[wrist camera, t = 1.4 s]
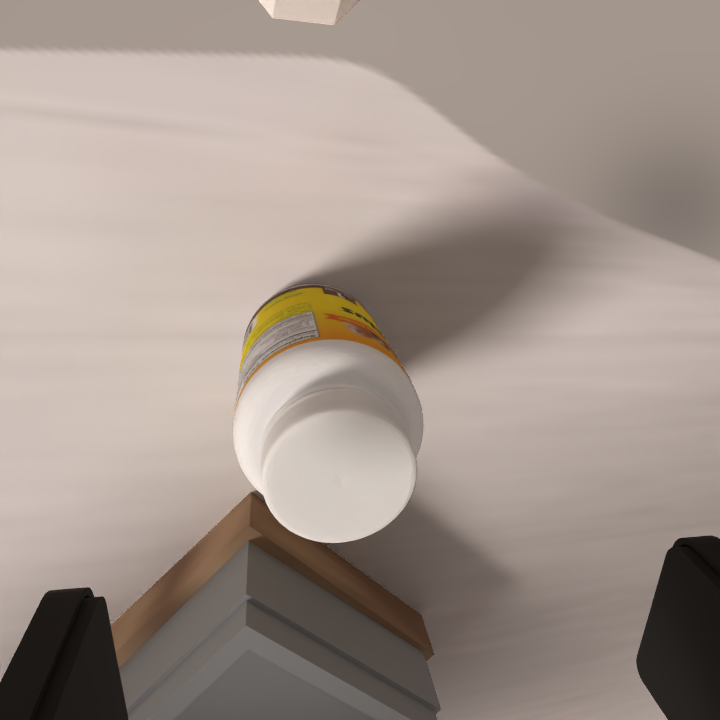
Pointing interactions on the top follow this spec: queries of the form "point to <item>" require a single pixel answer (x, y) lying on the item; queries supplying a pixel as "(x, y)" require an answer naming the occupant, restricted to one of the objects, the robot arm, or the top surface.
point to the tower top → (274, 655)
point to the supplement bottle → (325, 416)
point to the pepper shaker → (309, 10)
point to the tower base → (293, 550)
